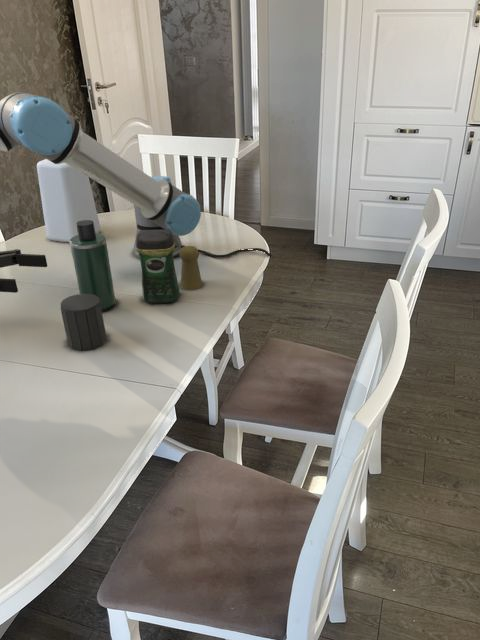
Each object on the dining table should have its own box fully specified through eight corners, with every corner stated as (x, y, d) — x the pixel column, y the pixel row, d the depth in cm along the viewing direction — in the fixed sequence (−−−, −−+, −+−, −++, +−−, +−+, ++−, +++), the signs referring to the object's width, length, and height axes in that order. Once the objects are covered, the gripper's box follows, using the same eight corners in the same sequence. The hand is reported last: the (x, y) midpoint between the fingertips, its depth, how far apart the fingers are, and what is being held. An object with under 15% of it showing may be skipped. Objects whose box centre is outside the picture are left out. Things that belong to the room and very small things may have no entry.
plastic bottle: (42, 240, 182) (22, 153, 168) (68, 226, 195) (52, 144, 180) (81, 245, 178) (65, 156, 164) (105, 230, 191) (92, 146, 176)
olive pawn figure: (206, 282, 153) (204, 245, 147) (195, 291, 148) (192, 253, 143) (187, 279, 155) (184, 242, 149) (176, 287, 151) (172, 249, 145)
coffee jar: (180, 291, 148) (175, 224, 139) (178, 304, 142) (172, 235, 132) (145, 291, 148) (136, 225, 138) (140, 305, 141) (131, 236, 132)
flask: (115, 296, 146) (102, 215, 134) (116, 310, 139) (103, 226, 127) (82, 300, 144) (66, 218, 132) (82, 314, 137) (65, 229, 125)
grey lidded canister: (105, 329, 130) (99, 291, 125) (106, 347, 123) (99, 307, 118) (69, 334, 128) (60, 296, 123) (68, 352, 121) (59, 312, 116)
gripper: (-25, 262, 133) (59, 266, 131) (-93, 309, 111) (6, 314, 109) (-33, 233, 129) (53, 236, 127) (-106, 275, 108) (-4, 280, 106)
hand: (31, 272), depth 118 cm, fingers open, 13 cm apart
